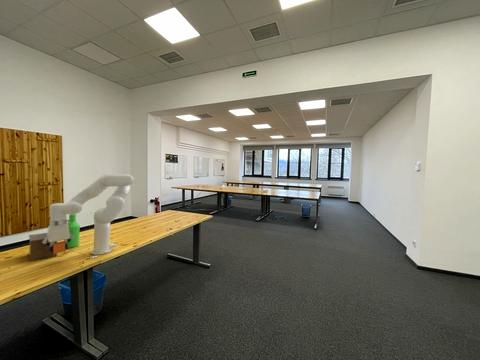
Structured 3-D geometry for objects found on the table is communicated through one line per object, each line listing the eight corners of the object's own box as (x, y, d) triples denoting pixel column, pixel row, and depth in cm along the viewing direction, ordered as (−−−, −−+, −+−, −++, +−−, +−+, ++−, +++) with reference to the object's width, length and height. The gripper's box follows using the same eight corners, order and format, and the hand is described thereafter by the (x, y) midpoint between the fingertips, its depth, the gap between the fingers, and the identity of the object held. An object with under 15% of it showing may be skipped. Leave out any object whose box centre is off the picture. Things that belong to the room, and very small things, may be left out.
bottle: (66, 245, 151) (67, 213, 151) (80, 244, 155) (81, 212, 155) (62, 249, 143) (63, 215, 143) (77, 247, 147) (78, 214, 147)
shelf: (54, 249, 142) (54, 231, 142) (57, 256, 131) (57, 236, 131) (28, 254, 132) (29, 235, 132) (29, 261, 122) (30, 240, 122)
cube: (63, 249, 128) (63, 241, 128) (65, 251, 125) (65, 243, 125) (52, 251, 124) (52, 243, 124) (53, 253, 121) (53, 245, 120)
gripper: (74, 219, 133) (75, 245, 133) (38, 224, 120) (39, 253, 120) (77, 221, 128) (77, 248, 128) (39, 226, 115) (40, 256, 116)
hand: (58, 250), depth 124 cm, fingers closed on cube, 5 cm apart
